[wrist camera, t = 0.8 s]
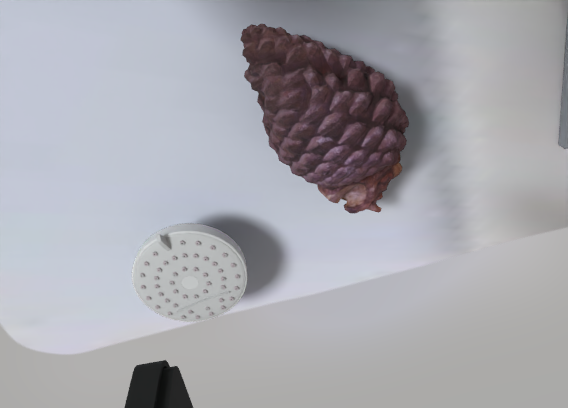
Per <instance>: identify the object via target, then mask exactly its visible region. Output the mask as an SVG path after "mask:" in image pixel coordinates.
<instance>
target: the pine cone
mask: <svg viewBox="0 0 568 408" xmlns="http://www.w3.org/2000/svg"><path fill="white" fill-rule="evenodd" d="M241 41H242V42H243V43H244V48H245V49H244V50H243V56H244V57H245V58H246V60H247V62H248V63H250V65H249V68H248V70H246V71H245V75H244V77H245V78H246V79H247V81H249V82H250V83H251V87H252V89H253V90H255V91H258V93H259V95H258V101H257V102H258V103H259V104H260V106H261V108H262V110H263V112H264V116H263V121H262V122H263V123H264V127H265V130H266V133H267V135H268V136H269V145H270V147H271V148H273V149H274V150H275V151H276V153H277V154H278V157H279V161H281V162H282V163H284V164H286V165H289V166H290V168H291V171H292V173H293V174H295V175H297V176H302V177H303V178H304V179H305V180H306V181H307V182H310V183H315V184H317V185H318V189H319V191H320V192H321V193H322V194H323V195H324V196H325V197H326V198H327V199H328V200H329V201H331V202H334V203H338V202H339V201H340V199H343V200H346V201H347V204H345V205H344V208H345V210H346V211H348V212H349V213H357V212H359V211H363V210H365V209H369V210H372V211H375V212H380V211H381V208H380V207H378V206H377V205H376V201H377V200H379V199H381V198H382V197H383V196H382V192H383V191H385V190H387V186H388V184H389V182H390V180H391V179H393V178H395V177H396V176H398V175H399V174H400V173H401V171H402V166H401V164H400V163H399V162H400V151H402V150H403V149H404V146H405V145H406V141H407V140H406V138H405V136H404V135H403V133H404V132H405V128H406V127H408V125H409V121H408V118H407V116H406V113H405V111H404V110H403V109H402V108H401V106H400V104H399V103H398V101H397V99H398V94H397V93H396V92H395V91H394V90H395V86H394V84H393V82H392V81H390V80H388V79H385V77H384V74H382V73H380V72H375V70H374V69H373V68H371V67H369V66H366V65H365V64H364V62H363V61H353V59H352V57H351V56H348V55H342V54H341V53H340V52H339V51H338V50H336V49H335V48H334V49H328V48H326V47H325V46H324V44H323V43H322V42H319V41H314V40H312V39H311V38H309V37H307V36H305V35H302V36H299V35H298V34H297V35H290V34H289V33H286V31H285V30H284V29H283V28H281V27H279V28H276V29H275V28H272V27H267V26H266V25H265V24H260V25H258V26H256V25H250V26H248V27H247V29H243V31H242V37H241Z"/></svg>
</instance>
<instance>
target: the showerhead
mask: <svg viewBox="0 0 568 408" xmlns="http://www.w3.org/2000/svg"><path fill="white" fill-rule="evenodd" d="M132 282H133V286H134V289H135V291H136V293H137V295H138V297H139V298H140V299H141V301H142V302H143V303H144V304H145V305H146V306H147V307H148V308H150V309H151V310H152V311H154V312H155V313H157V314H159V315H161V316H163V317H166V318H169V319H172V320H176V321H183V322H199V321H206V320H209V319H213V318H215V317H218V316H220V315H222V314H224V313H226V312H227V311H229V310H230V309H231V308H233V307H234V306H235V305H236V304H237V303H238V301H239V300H240V299H241V297H242V296H243V294H244V292H245V289H246V285H247V266H246V260H245V257H244V254H243V252H242V250H241V249H240V247H239V246H238V244H237V243H236V242H235V241H234V240H233V239H232V238H231V237H229V236H228V235H227V234H225V233H224V232H222V231H220V230H218V229H216V228H213V227H210V226H206V225H202V224H194V223H186V224H177V225H173V226H169V227H166V228H164V229H161V230H159V231H158V232H156V233H154V234H153V235H152V236H150V237H149V238H148V239H147V240H146V241H145V242H144V243H143V245H142V246H141V248H140V249H139V251H138V254H137V256H136V259H135V262H134V265H133V269H132Z"/></svg>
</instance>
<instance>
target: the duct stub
mask: <svg viewBox="0 0 568 408" xmlns="http://www.w3.org/2000/svg"><path fill="white" fill-rule="evenodd" d="M559 145H560V146H561V147H563V148H564V149H567V148H568V20H567V34H566V48H565V62H564V76H563V89H562V103H561V117H560V131H559Z"/></svg>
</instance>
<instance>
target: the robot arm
mask: <svg viewBox="0 0 568 408" xmlns="http://www.w3.org/2000/svg"><path fill="white" fill-rule="evenodd" d="M125 408H193V406H192V403H191V400H190V398H189V395H188V392H187V390H186V387H185V384H184V381H183V379H182V376H181V373H180V371H179V368H178V367H177V366H175V367H170V366H169V364H168V362H167V361H166V360H164V361H159V362H153V363H147V364H142V365H137V366H136V367H135V368H134V371H133V375H132V379H131V383H130V387H129V392H128V396H127V400H126V404H125Z"/></svg>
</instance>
